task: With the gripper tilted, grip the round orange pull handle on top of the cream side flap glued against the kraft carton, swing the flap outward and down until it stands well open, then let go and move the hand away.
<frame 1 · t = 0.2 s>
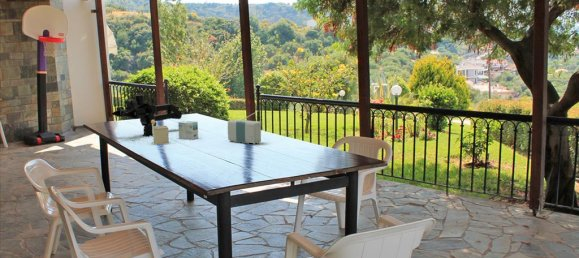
hand: (116, 114, 342), 17 cm above the table, tool horizontal, fingers open, 9 cm apart
carton flap: (153, 127, 335), point 10 cm above the table, hinge at 0.0°
stereo radio cassette player: (244, 142, 338), on the table
kraft carton: (161, 142, 338), on the table
light bulb box: (188, 138, 353), on the table
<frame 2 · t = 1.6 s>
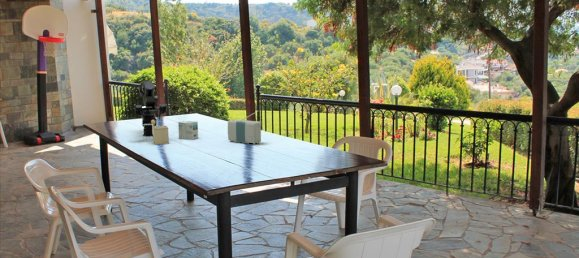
hand: (151, 119, 340), 14 cm above the table, tool tilted 45°, fingers open, 9 cm apart
nothing on the table moved.
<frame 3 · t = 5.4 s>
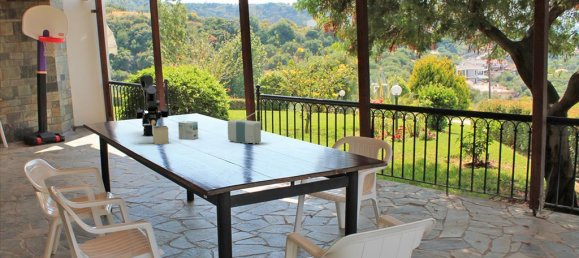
hand: (153, 124, 331), 12 cm above the table, tool tilted 45°, fingers closed on carton flap, 2 cm apart
carton flap: (153, 127, 335), point 10 cm above the table, hinge at 0.0°, touching gripper
everything else where it was.
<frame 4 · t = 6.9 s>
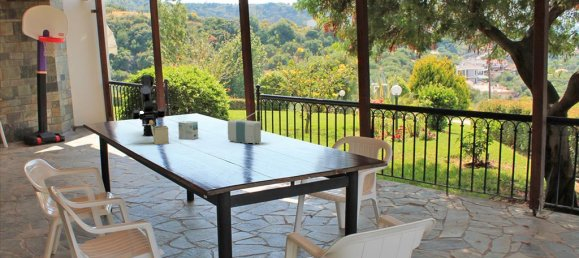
hand: (150, 124, 330), 12 cm above the table, tool tilted 45°, fingers open, 4 cm apart
carton flap: (152, 127, 335), point 10 cm above the table, hinge at 8.1°, touching gripper
everything else where it was.
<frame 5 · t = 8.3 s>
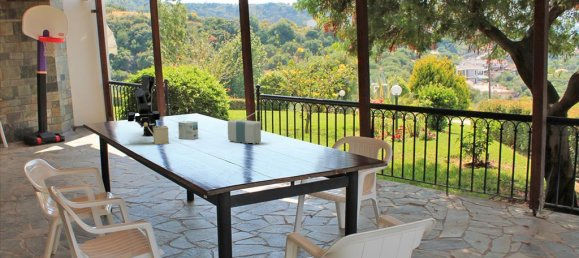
hand: (145, 127, 329), 11 cm above the table, tool tilted 45°, fingers open, 3 cm apart
carton flap: (148, 128, 334), point 9 cm above the table, hinge at 32.5°, touching gripper
everything else where it was.
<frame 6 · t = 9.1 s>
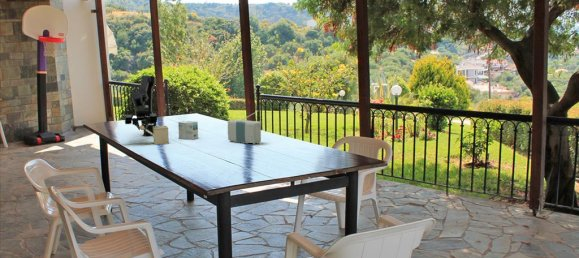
hand: (142, 129, 329), 9 cm above the table, tool tilted 45°, fingers closed on carton flap, 3 cm apart
carton flap: (146, 130, 334), point 8 cm above the table, hinge at 52.8°, touching gripper
everything else where it was.
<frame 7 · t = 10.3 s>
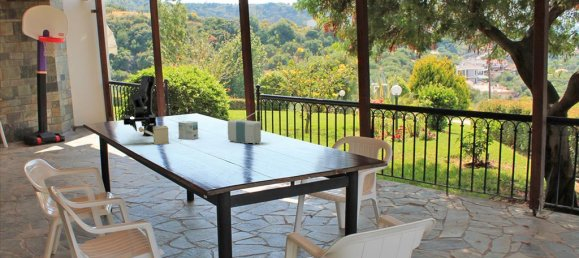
hand: (140, 130, 329), 9 cm above the table, tool tilted 45°, fingers open, 4 cm apart
carton flap: (146, 131, 334), point 7 cm above the table, hinge at 61.9°
everything else where it was.
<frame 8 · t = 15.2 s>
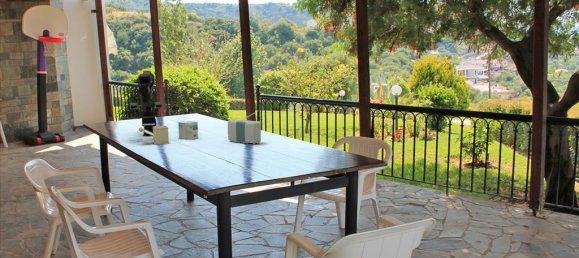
hand: (146, 119, 347), 13 cm above the table, tool pointing down, fingers open, 9 cm apart
nothing on the table moved.
at the end: carton flap at +62° (first picture: +0°); the gripper is holding nothing; light bulb box moved 0.3 cm from its start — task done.
